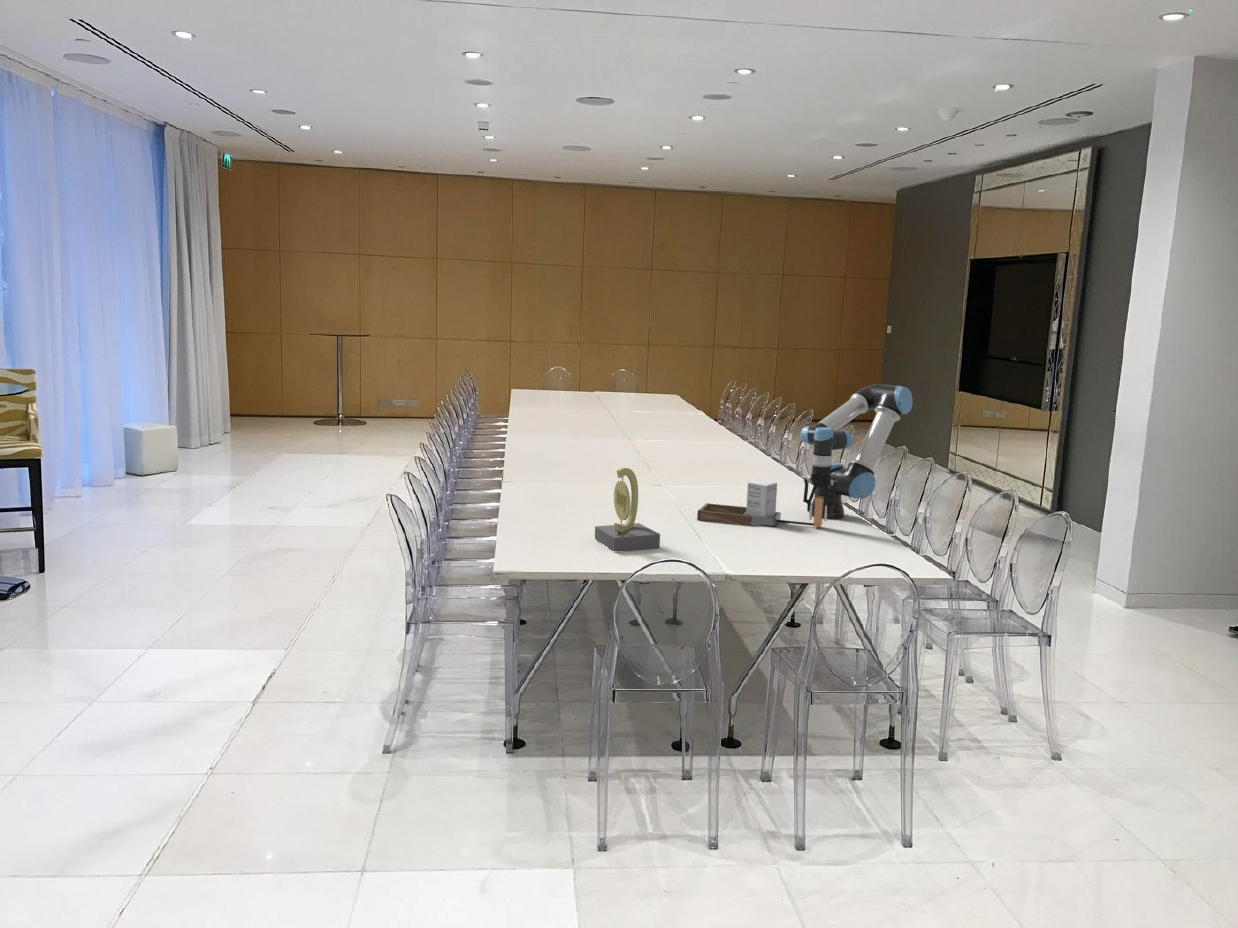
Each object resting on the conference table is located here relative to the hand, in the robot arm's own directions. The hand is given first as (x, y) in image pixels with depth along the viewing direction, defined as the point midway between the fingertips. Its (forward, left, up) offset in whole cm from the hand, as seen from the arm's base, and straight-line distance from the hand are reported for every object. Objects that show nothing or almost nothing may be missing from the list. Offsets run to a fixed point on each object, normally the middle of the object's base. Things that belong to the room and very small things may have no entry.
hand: (817, 519), depth 415 cm
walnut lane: (0, -38, -3) cm, 38 cm away
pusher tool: (0, -14, -3) cm, 15 cm away
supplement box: (0, -24, -3) cm, 24 cm away
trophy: (+59, -65, -4) cm, 88 cm away
